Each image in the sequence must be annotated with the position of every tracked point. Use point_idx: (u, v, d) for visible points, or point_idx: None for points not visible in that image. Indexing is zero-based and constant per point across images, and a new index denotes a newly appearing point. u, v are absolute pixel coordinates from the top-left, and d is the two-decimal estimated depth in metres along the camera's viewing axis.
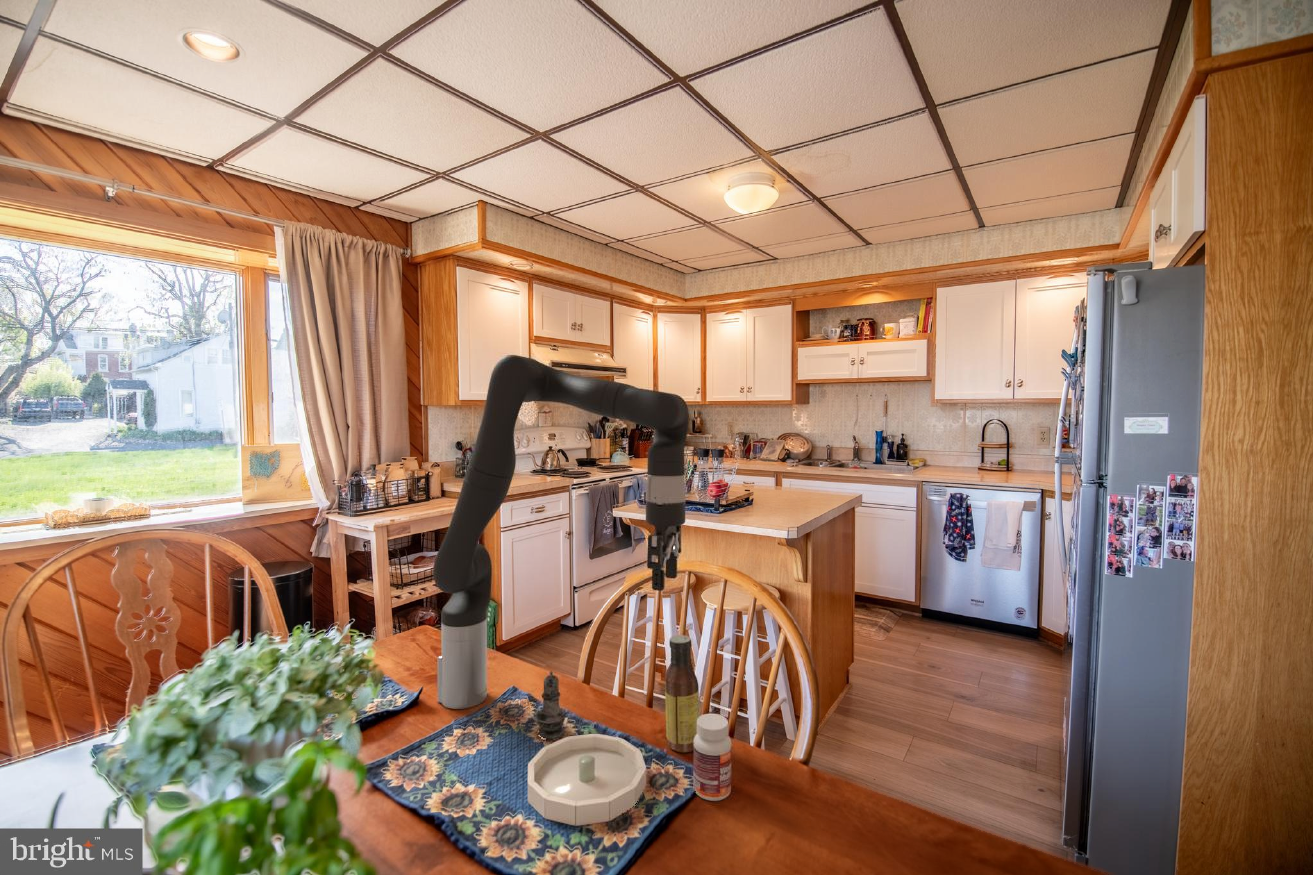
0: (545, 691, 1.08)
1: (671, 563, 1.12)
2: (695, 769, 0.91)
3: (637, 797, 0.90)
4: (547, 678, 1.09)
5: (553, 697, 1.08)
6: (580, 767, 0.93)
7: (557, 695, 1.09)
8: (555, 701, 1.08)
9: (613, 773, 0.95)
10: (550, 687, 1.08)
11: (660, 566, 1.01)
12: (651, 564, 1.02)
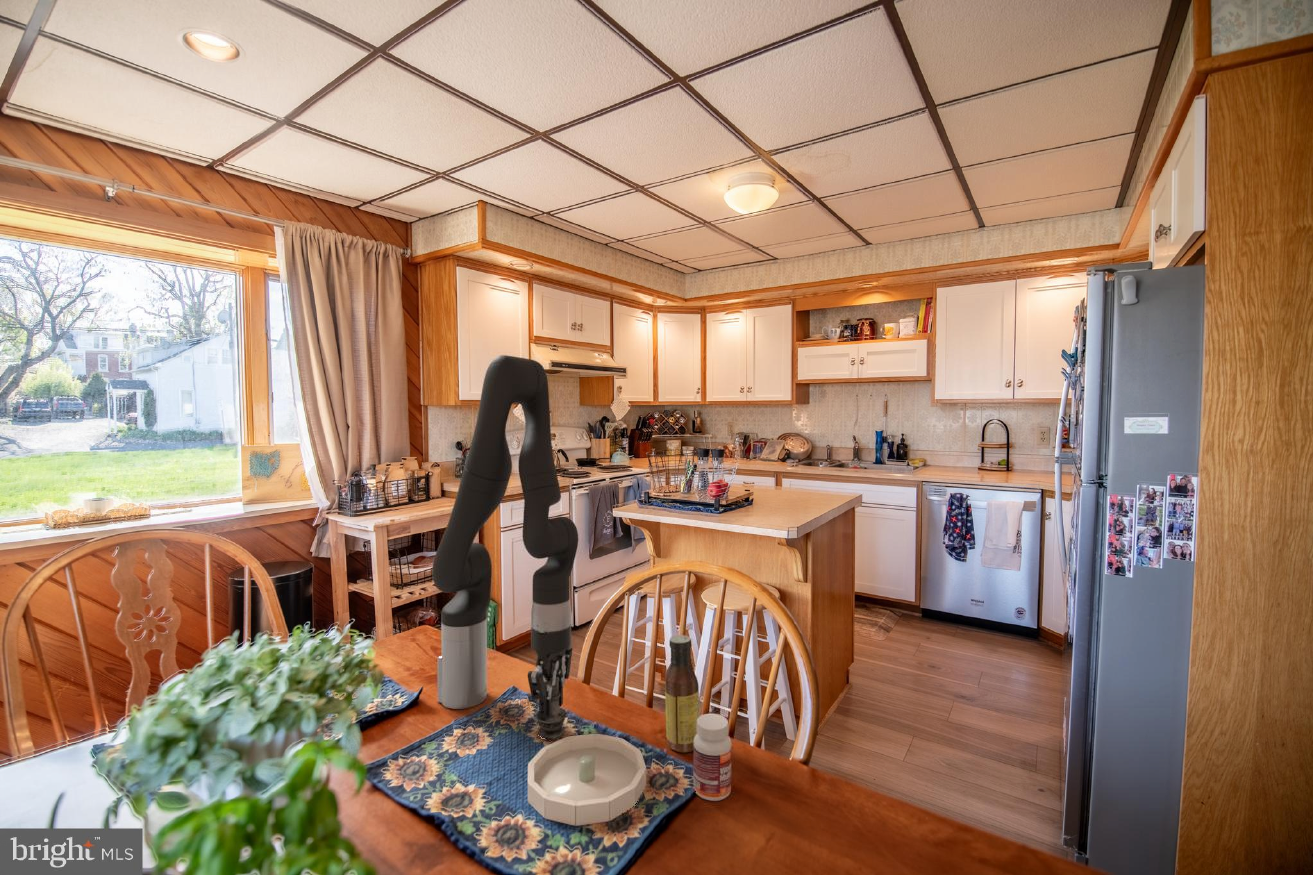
0: None
1: None
2: (695, 769, 0.91)
3: (637, 797, 0.90)
4: None
5: (553, 697, 1.08)
6: (580, 767, 0.93)
7: (557, 694, 1.09)
8: (555, 701, 1.08)
9: (613, 773, 0.95)
10: None
11: (544, 699, 1.04)
12: (535, 695, 1.05)
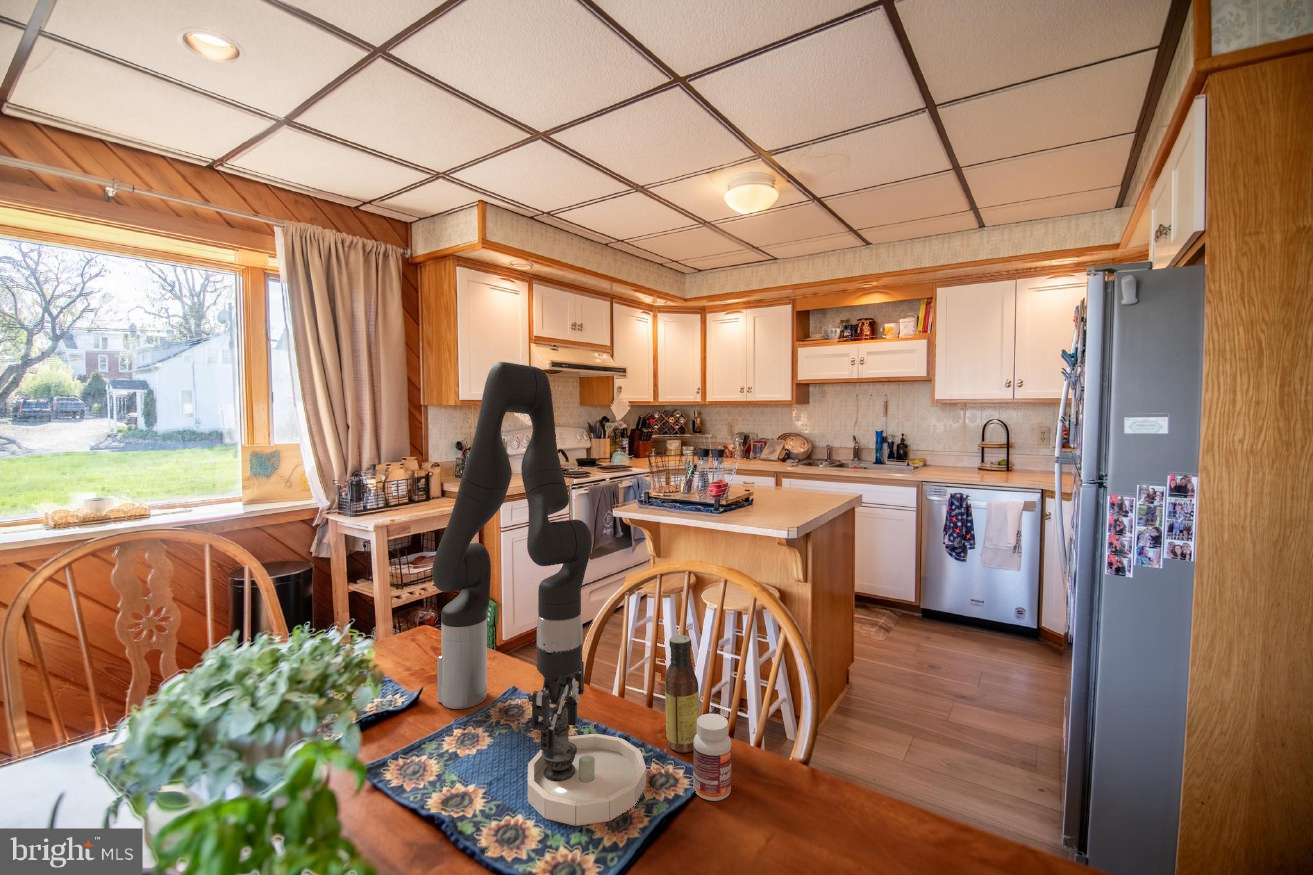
0: None
1: (570, 708, 0.99)
2: (695, 769, 0.91)
3: (637, 797, 0.90)
4: None
5: (561, 732, 0.94)
6: (580, 767, 0.93)
7: (566, 728, 0.95)
8: (564, 736, 0.94)
9: (613, 773, 0.95)
10: (558, 720, 0.94)
11: (546, 729, 0.89)
12: (536, 725, 0.89)
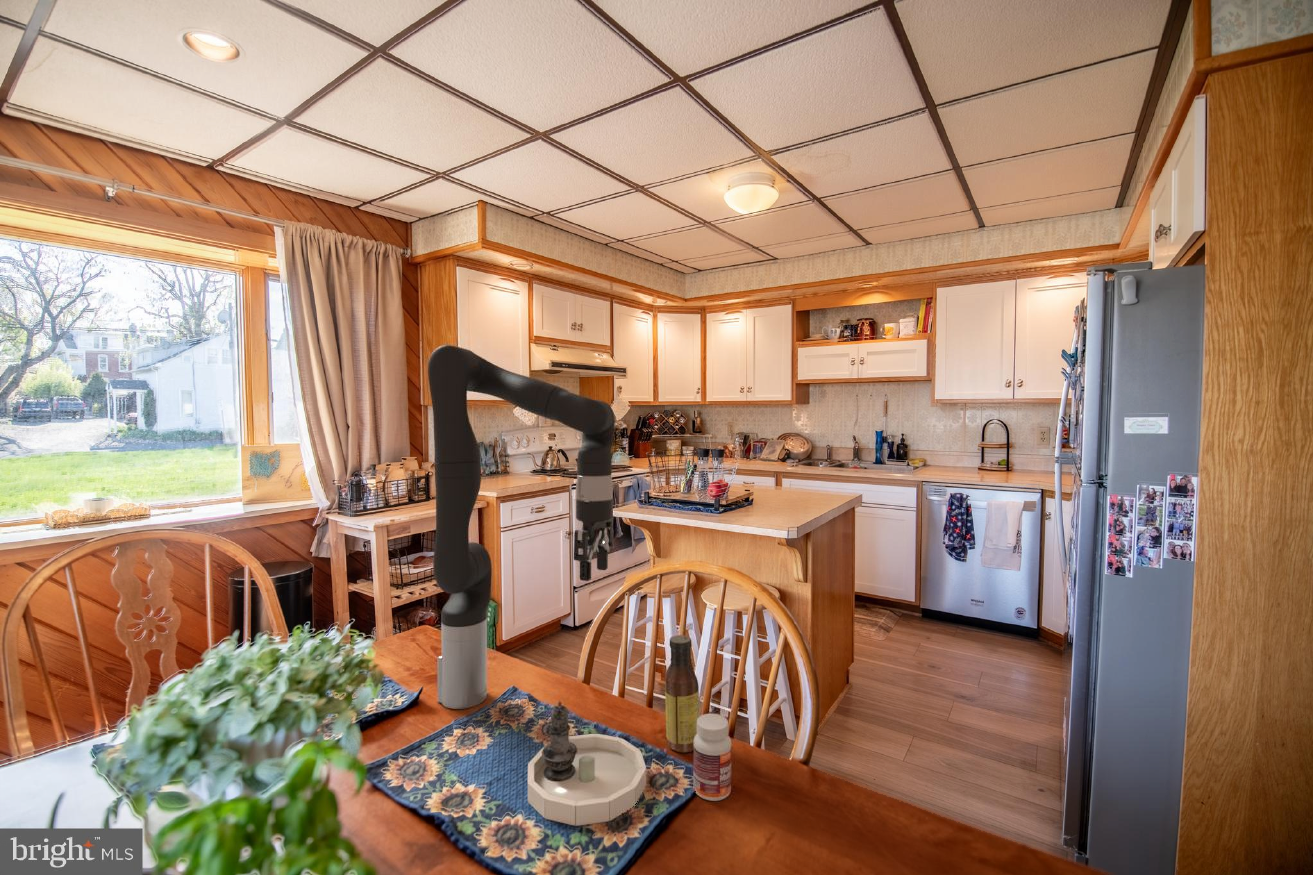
0: (553, 724, 0.94)
1: (602, 556, 1.22)
2: (695, 769, 0.91)
3: (637, 797, 0.90)
4: (555, 709, 0.95)
5: (562, 732, 0.94)
6: (580, 767, 0.93)
7: (567, 728, 0.95)
8: (564, 736, 0.94)
9: (613, 773, 0.95)
10: (558, 720, 0.94)
11: (585, 558, 1.11)
12: (577, 556, 1.11)
